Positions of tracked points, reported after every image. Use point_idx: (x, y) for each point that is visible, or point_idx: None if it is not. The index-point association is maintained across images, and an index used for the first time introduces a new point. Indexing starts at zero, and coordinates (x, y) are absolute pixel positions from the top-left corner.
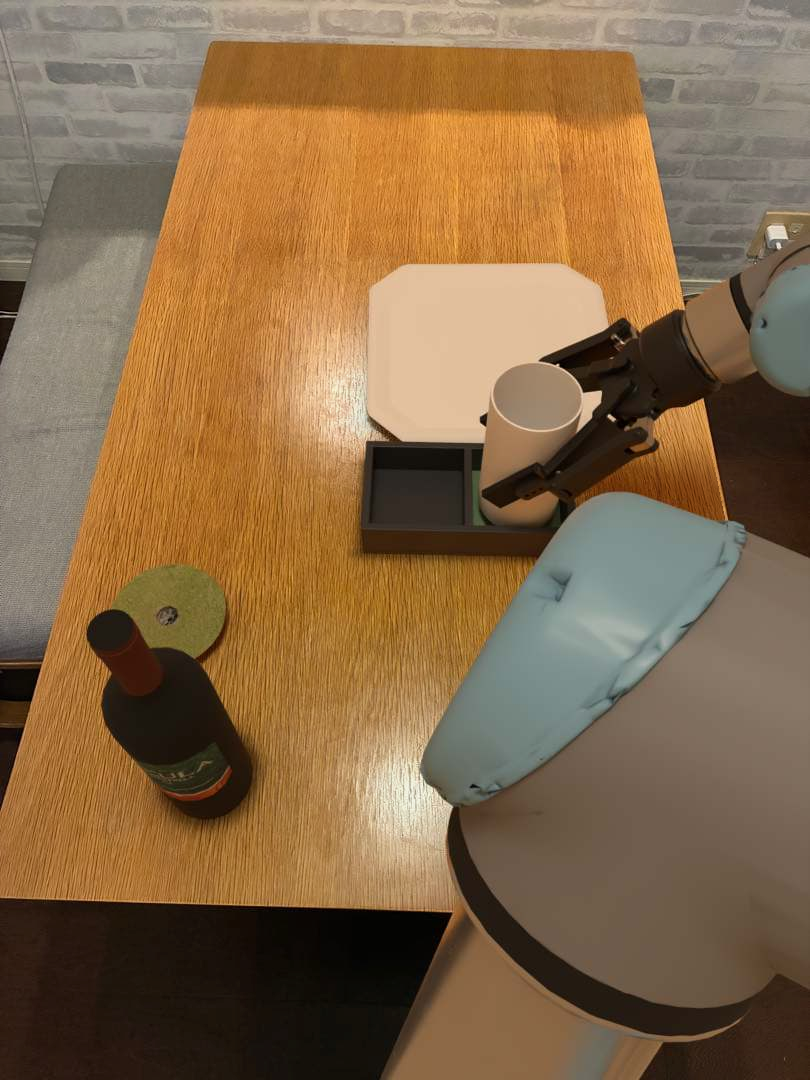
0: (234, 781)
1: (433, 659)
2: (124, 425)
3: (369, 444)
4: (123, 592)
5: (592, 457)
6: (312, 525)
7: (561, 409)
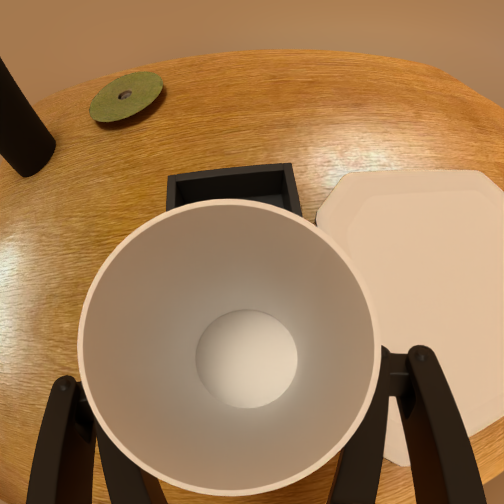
0: (4, 157)
1: (74, 280)
2: (288, 51)
3: (285, 165)
4: (144, 73)
5: (42, 470)
6: (209, 156)
7: (302, 419)
